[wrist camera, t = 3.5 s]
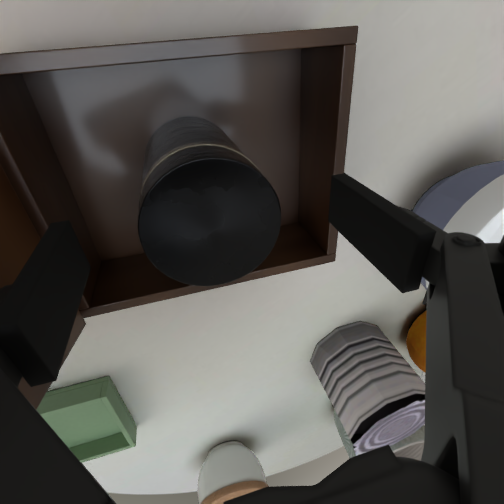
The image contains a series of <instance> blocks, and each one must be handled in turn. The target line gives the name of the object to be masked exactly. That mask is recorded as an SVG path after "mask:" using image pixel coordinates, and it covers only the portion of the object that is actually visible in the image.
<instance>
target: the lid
mask: <svg viewBox="0 0 504 504" xmlns="http://www.w3.org/2000/svg"><path fill="white" fill-rule="evenodd" d="M40 240H41V239H40V237H39V235H38V233H37V231H36V230H35V228H34V226H33V224H32V222H31V220H30V218H29V217H28V215H27V213H26V211H25V209H24V207H23V205H22V203H21V202H20V200H19V198H18V196H17V194H16V192H15V190H14V189H13V187H12V185H11V183H10V181H9V179H8V177H7V176H6V174H5V172H4V170H3V168H2V166H1V164H0V289H1V288H2V287H4V286H6V285H11V284H13V283H14V281H15V280H16V278H17V276H18V275H19V273H20V272H21V270H22V269H23V267H24V265H25V264H26V262H27V261H28V259H29V257H30V256H31V254H32V253H33V251H34V250H35V248H36V246H37V245H38V243H39V242H40ZM85 325H86V323H85V321H84V319H83V317H82V315H81V313H80V311H79V310H78V312H77V315H76V318H75V321H74V324H73V328H72V331H71V334H70V337H69V341H68V344H67V347H66V350H65V353H64V357H63V360H62V363H61V366H62V365H63V363H64V361H65V359H66V358H67V356H68V354H69V352H70V351H71V349H72V347H73V346H74V344H75V342H76V340H77V339H78V337H79V335H80V333H81V332H82V330H83V328H84V327H85ZM61 366H60V368H61ZM51 384H52V382H49V383H45V384H41V385H37V386H33V387H31V386H30V385H29V384H28V383H27V382H26V380H25V379H24V378H23V377H22V378H21V381H20V383H19V385H18V389H19V390H20V391H21V393H22V394H23V395H24V396H25V397H26V398H27V400H28V401H29V402H30V403H31V404H32V405H33V407H34V408H35V409H36V410H37V408H38V406H39V404H40V403H41V401H42V399H43V397H44V396H45V394H46V392H47V391H48V389H49V387H50V385H51Z"/></svg>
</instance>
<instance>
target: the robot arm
mask: <svg viewBox="0 0 504 504" xmlns="http://www.w3.org/2000/svg"><path fill="white" fill-rule="evenodd" d="M328 222H329V223H331V224H332V225H333V226H334V227H335V228H336V229H337V230H338V231H339V232H340V233H341V234H342V235H343V236H344V237H345V238H346V239H347V240H348V241H349V242H350V243H351V244H352V245H353V246H354V247H355V248H356V249H357V250H358V251H359V252H360V253H361V254H362V255H364V256H365V257H366V258H367V259H368V260H369V261H370V262H371V263H372V264H373V265H374V266H375V267H376V268H377V269H378V270H379V271H380V272H381V273H382V274H383V275H384V276H385V277H386V278H387V279H388V280H389V281H390V282H391V283H392V284H393V285H394V286H395V287H397V288H398V289H399V290H400V291H401V292H402V293H405V292H409V291H413V290H417V289H419V286H420V283H421V280H422V277H423V278H424V279H426V280H427V281H428V282H429V285H428V288H427V291H426V294H425V297H424V300H423V303H422V304H426V302H427V314H426V375H425V436H424V448H423V453H422V458H421V461H420V460H416V459H412V458H407V457H396V456H395V454H394V453H393V451H392V449H391V448H390V446H389V445H386V446H383V447H380V448H377V449H374V450H371V451H369V452H366V453H363V454H360V455H357V456H354V457H351V458H350V459H349V460H347V461H346V462H345V463H344V464H342V465H341V466H340V467H338V468H337V469H336V470H335V471H333V472H332V473H331V474H329V475H328V476H327V477H326V478H324V479H323V480H322V481H321V482H320V483H318V484H316V485H313V486H281V487H265V488H262V489H259V490H256V491H253V492H250V493H248V494H245V495H242V496H239V497H236V498H233V499H230V500H227V501H225V502H223V503H224V504H504V235H503V237H502V239H501V242H500V243H484V242H483V240H481V239H480V238H478V237H476V236H474V235H471V234H467V233H463V232H452V233H447V232H445V231H443V230H442V229H440V228H438V227H437V226H435V225H434V224H432V223H430V222H429V221H426V220H425V219H424V218H422V217H419V215H417V214H416V213H414V212H412V211H411V210H408V209H405V208H402V207H397V206H396V205H394V204H393V203H391V202H389V201H388V200H386V199H385V198H383V197H382V196H380V195H378V194H377V193H375V192H374V191H372V190H370V189H369V188H367V187H366V186H364V185H362V184H361V183H359V182H358V181H356V180H355V179H353V178H351V177H350V176H348V175H347V174H345V173H343V174H337V175H332V176H331V189H330V202H329V215H328ZM90 270H91V267H90V264H89V262H88V260H87V258H86V256H85V254H84V251H83V249H82V247H81V245H80V243H79V240H78V238H77V236H76V234H75V232H74V230H73V227H72V225H71V223H70V221H69V220H66V221H60V222H54V223H51V224H50V226H49V227H48V229H47V230H46V232H45V234H44V235H43V237H42V238H41V240H40V242H39V243H38V245H37V246H36V248H35V250H34V251H33V253H32V254H31V256H30V257H29V259H28V261H27V262H26V264H25V265H24V267H23V269H22V270H21V272H20V273H19V275H18V276H17V278H16V280H15V281H14V283H13V284H11V285H6V286H4V287H2V288H1V289H0V504H116V503H115V502H114V500H113V499H112V498H111V497H110V496H109V494H108V493H107V492H106V491H105V490H104V489H103V487H102V486H101V485H100V484H99V483H98V482H97V480H96V479H95V478H94V477H93V476H92V475H91V473H90V472H89V471H88V470H87V469H86V468H85V466H84V465H83V464H82V463H81V462H80V461H79V459H78V458H77V457H76V456H75V455H74V453H73V452H72V451H71V450H70V449H69V448H68V446H67V445H66V444H65V443H64V442H63V441H62V439H61V438H60V437H59V436H58V435H57V434H56V432H55V431H54V430H53V429H52V428H51V427H50V425H49V424H48V423H47V422H46V421H45V419H44V418H43V417H42V416H41V415H40V414H39V412H38V411H37V410H36V409H35V408H34V407H33V405H32V404H31V403H30V402H29V401H28V400H27V398H26V397H25V396H24V395H23V394H22V393H21V391H20V390H19V389H18V385H19V383H20V381H21V378H22V377H23V378H24V379H25V380H26V382H27V383H28V384H29V385H30V386H31V387H33V386H37V385H41V384H45V383H49V382H53V381H56V379H57V376H58V373H59V370H60V366H61V363H62V360H63V357H64V353H65V350H66V347H67V344H68V341H69V337H70V334H71V331H72V328H73V324H74V321H75V318H76V315H77V312H78V308H79V305H80V302H81V299H82V295H83V292H84V289H85V286H86V283H87V279H88V276H89V273H90Z"/></svg>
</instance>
